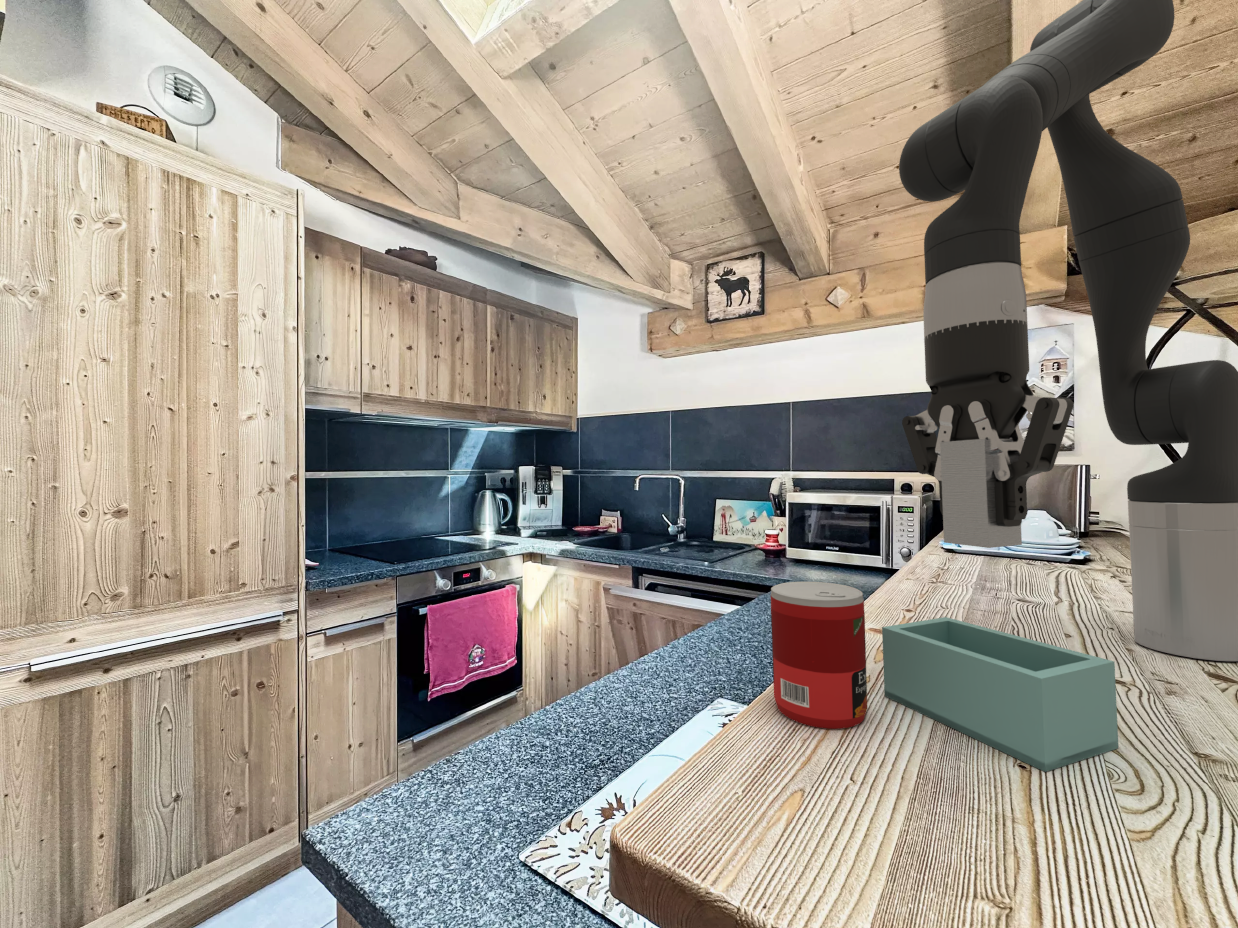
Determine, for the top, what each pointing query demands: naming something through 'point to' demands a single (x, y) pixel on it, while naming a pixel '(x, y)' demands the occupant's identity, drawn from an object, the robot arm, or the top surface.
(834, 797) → the top surface
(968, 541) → the grey upright brick
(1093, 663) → the box
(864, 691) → the canned food
